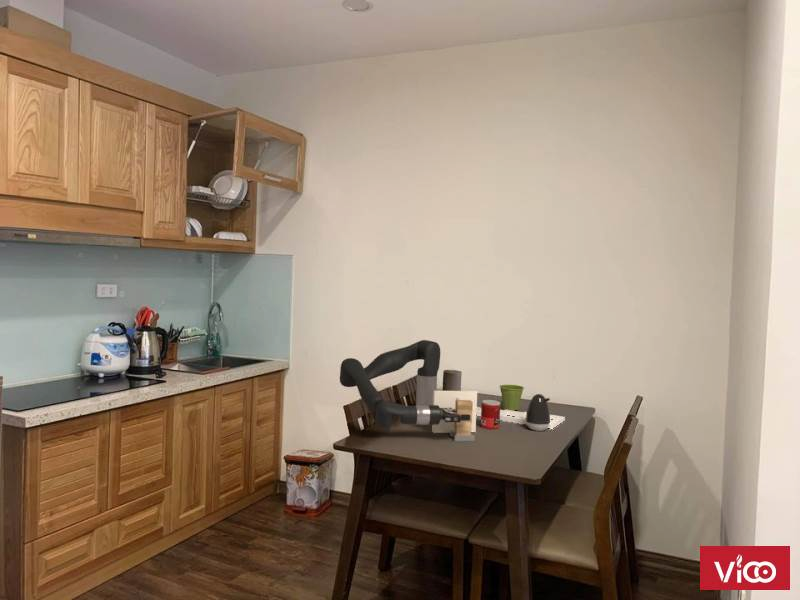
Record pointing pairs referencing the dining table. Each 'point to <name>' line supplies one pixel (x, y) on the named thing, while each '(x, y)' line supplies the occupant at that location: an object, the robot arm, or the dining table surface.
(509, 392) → the plant pot
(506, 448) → the dining table surface
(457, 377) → the pillar candle
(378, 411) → the robot arm
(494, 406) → the canned food
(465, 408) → the tall wooden block
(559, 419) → the holder
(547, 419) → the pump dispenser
